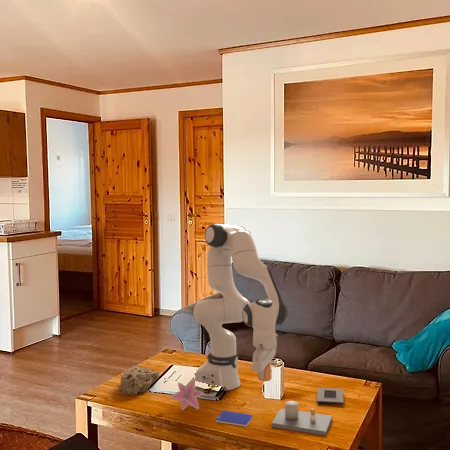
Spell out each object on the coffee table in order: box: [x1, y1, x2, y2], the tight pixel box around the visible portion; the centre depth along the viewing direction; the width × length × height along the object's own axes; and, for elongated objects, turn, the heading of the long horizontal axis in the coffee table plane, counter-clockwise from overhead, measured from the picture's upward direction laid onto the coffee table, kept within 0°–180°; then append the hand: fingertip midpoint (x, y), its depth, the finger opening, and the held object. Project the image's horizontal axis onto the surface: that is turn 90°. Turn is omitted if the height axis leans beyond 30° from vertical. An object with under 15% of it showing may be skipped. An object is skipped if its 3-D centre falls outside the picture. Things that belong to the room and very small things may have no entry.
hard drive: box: [215, 410, 254, 427], centre depth 201 cm, size 2×8×12 cm
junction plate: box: [271, 400, 333, 436], centre depth 196 cm, size 20×13×7 cm, turn 69°
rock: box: [119, 364, 160, 396], centre depth 234 cm, size 21×14×10 cm
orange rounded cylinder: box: [257, 364, 273, 382], centre depth 207 cm, size 5×5×5 cm
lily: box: [170, 378, 204, 411], centre depth 213 cm, size 12×12×10 cm
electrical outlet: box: [316, 387, 345, 404], centre depth 217 cm, size 13×10×2 cm
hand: (264, 374), depth 207 cm, fingers closed on orange rounded cylinder, 5 cm apart
